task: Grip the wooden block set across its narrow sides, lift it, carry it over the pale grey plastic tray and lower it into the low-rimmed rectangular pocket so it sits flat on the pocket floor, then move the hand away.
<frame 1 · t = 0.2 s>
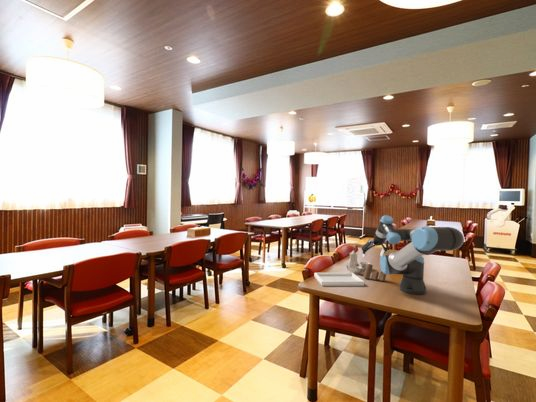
hand: (372, 256, 200), 15 cm above the table, tool tilted 35°, fingers open, 13 cm apart
wooden block set: (371, 279, 195), on the table
chinaware: (356, 271, 217), on the table
pocket tray: (337, 281, 188), on the table
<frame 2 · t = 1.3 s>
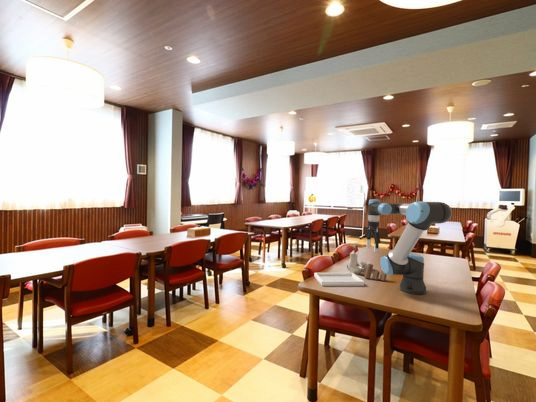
hand: (372, 250, 195), 21 cm above the table, tool pointing down, fingers open, 13 cm apart
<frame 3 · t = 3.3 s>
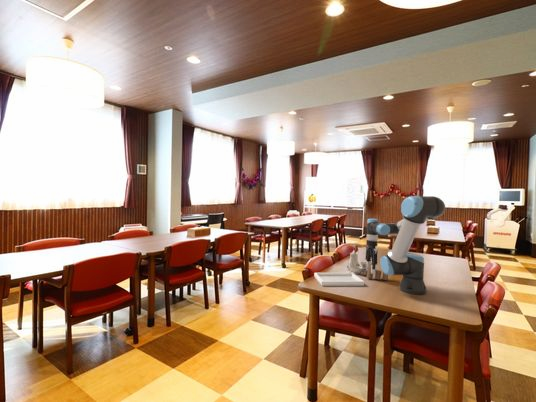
hand: (370, 271, 196), 5 cm above the table, tool pointing down, fingers open, 6 cm apart
wooden block set: (373, 278, 196), on the table
everything else where it was.
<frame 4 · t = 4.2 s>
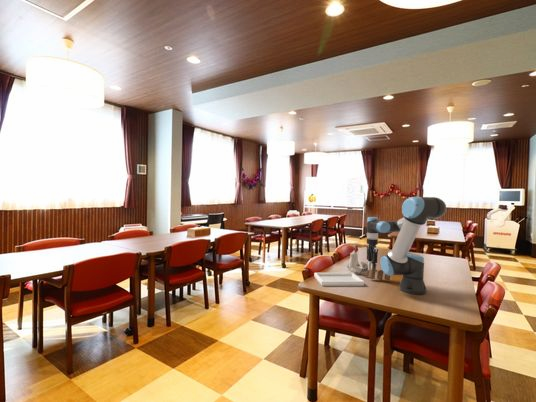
hand: (371, 271, 195), 6 cm above the table, tool pointing down, fingers closed on wooden block set, 4 cm apart
wooden block set: (375, 278, 193), point 1 cm above the table, touching gripper
everything else where it was.
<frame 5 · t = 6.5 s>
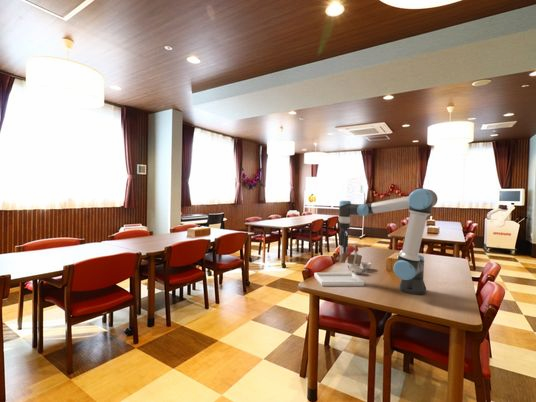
hand: (342, 255, 191), 17 cm above the table, tool pointing down, fingers closed on wooden block set, 4 cm apart
wooden block set: (346, 263, 189), point 12 cm above the table, touching gripper
everything else where it was.
when the fingers open (7 cm above the table, at t = 8.6 s): wooden block set drops 1 cm, resting on pocket tray.
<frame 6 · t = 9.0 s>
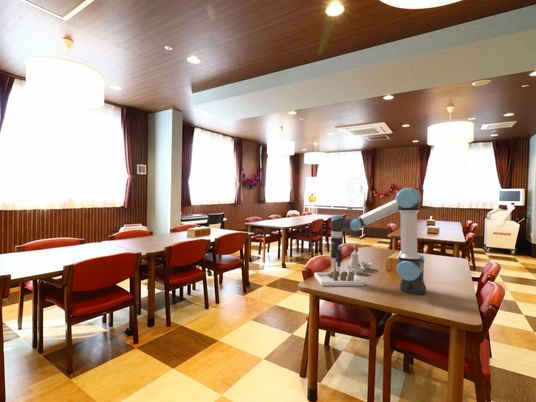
hand: (335, 269, 189), 8 cm above the table, tool pointing down, fingers open, 10 cm apart
wooden block set: (339, 280, 188), point 1 cm above the table, touching pocket tray
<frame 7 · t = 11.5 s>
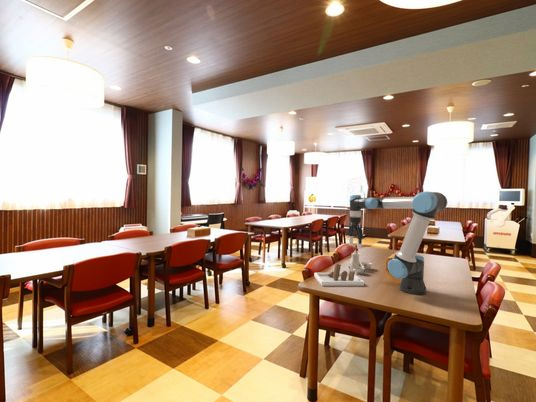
hand: (355, 246, 192), 23 cm above the table, tool pointing down, fingers open, 13 cm apart
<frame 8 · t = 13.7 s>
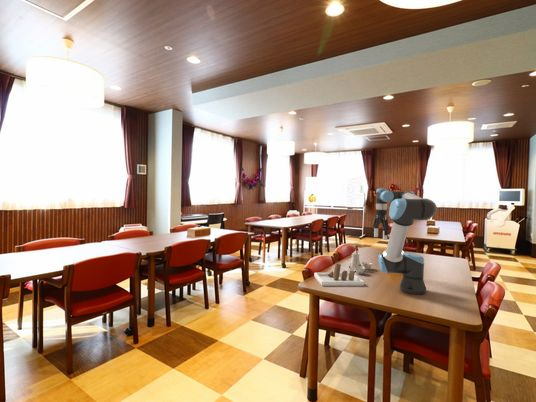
hand: (380, 238, 199), 29 cm above the table, tool pointing down, fingers open, 13 cm apart
at the end: wooden block set inside the target area on the pocket tray (2.0 cm from its centre), point 0.8 cm above the pocket tray's base; wooden block set tilted 0°; the gripper is holding nothing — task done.
